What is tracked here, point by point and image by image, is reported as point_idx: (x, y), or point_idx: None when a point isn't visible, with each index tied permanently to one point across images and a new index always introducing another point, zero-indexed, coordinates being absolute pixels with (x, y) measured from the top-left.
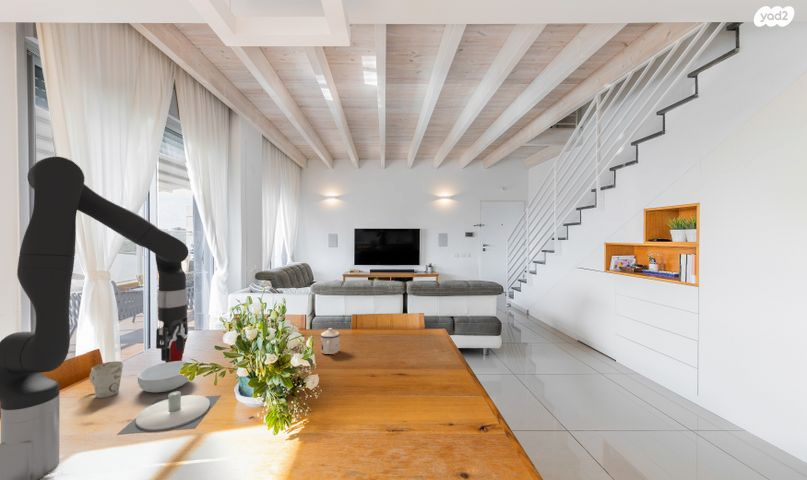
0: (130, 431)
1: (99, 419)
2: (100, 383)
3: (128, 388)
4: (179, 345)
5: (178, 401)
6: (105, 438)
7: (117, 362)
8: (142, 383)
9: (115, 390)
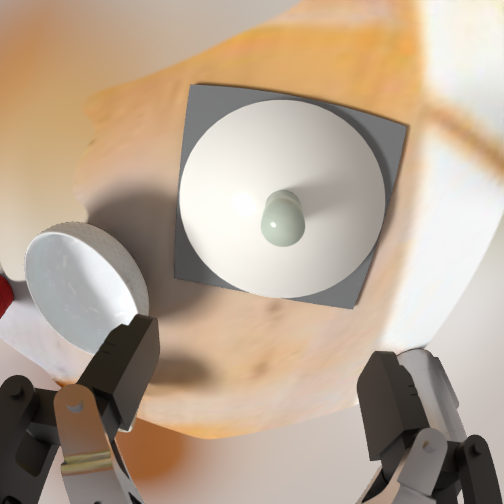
0: (353, 286)
1: (247, 359)
2: None
3: None
4: (142, 366)
5: (296, 201)
6: (348, 323)
7: None
8: None
9: None
